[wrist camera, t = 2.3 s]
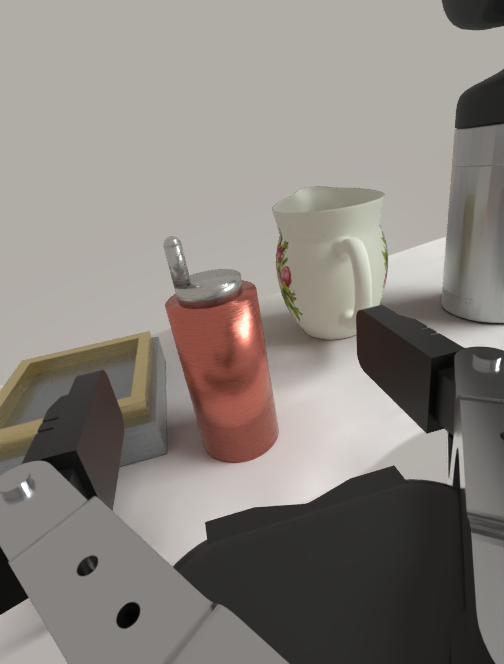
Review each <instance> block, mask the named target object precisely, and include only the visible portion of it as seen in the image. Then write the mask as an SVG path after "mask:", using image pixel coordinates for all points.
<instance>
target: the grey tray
mask: <svg viewBox="0 0 504 664" xmlns="http://www.w3.org/2000/svg"><path fill="white" fill-rule="evenodd" d="M99 370H104V371H105V372H106V373H107V375H108V378H109V380H110V383H111V386H112V388H113V391H114V394H115V396H116V399H117V402H118V404H119V407H120V410H121V413H122V416H123V421H124V438H123V445H122V451H121V458H120V464H119V467H121V466H124V465H128V464H131V463H135V462H139V461H142V460H146V459H150V458H153V457H157V456H160V455H164V454H167V421H166V361H165V358H164V355H163V351H162V348H161V345H160V341H159V338H158V337H154V338H152V337H151V334H150V332H145V333H140V334H136V335H132V336H127V337H123V338H119V339H114V340H110V341H106V342H102V343H97V344H93V345H88V346H84V347H80V348H75V349H71V350H67V351H62V352H58V353H54V354H49V355H45V356H41V357H36V358H32V359H28V360H23V361H22V362H21V363H20V364H19V366H18V367H17V369H16V370H15V371H14V373H13V374H12V376H11V377H10V378H9V380H8V381H7V383H6V384H5V385H4V387H3V388H2V389H1V391H0V476H1V475H2V474H4V473H5V472H7V471H9V470H11V469H13V468H15V467H17V466H19V465H21V464H22V462H23V460H24V457H25V455H26V453H27V451H28V449H29V447H30V445H31V443H32V441H33V439H34V437H35V435H36V434H38V432H37V431H38V429H39V427H40V425H41V423H43V422H42V421H43V419H44V416H45V414H46V412H47V410H48V409H49V408H50V407H51V406H52V405H53V404H54V403H55V402H56V401H57V400H58V399H59V398H60V397H61V396H65V395H68V394H69V391H70V389H71V387H72V384H73V382H74V380H75V378H76V376H78V375H82V374H87V373H91V372H95V371H99Z"/></svg>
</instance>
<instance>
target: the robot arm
mask: <svg viewBox="0 0 504 664" xmlns="http://www.w3.org/2000/svg"><path fill="white" fill-rule="evenodd" d="M442 3H443V8H444V11H445V13H446V15H447V17H448V19H449V20H450V21H451V23H452V24H453V25H455V26H457V27H459V28H461V29H467V30H486V29H491V28H494V27H495V28H496V27H501V26H504V0H442ZM455 128H457V129H455V134H454V146H453V159H452V174H451V186H450V199H449V212H448V224H447V237H446V250H445V263H444V275H443V287H442V300H441V303H442V306H443V307H444V309H445V310H447V311H448V312H450V313H451V314H454V315H456V316H459V317H462V318H465V319H469V320H474V321H480V322H490V323H504V69H503V70H502V71H500V72H499V73H497V74H495V75H493V76H491V77H490V78H488V79H486V80H484V81H482V82H480V83H478V84H476V85H474V86H472V87H471V88H469V89H467V90H466V91H465V92H464V93H463V94H462V95H461V96H460V98H459V100H458V104H457V109H456V120H455ZM356 334H357V356H358V360H359V363H360V366H361V368H362V369H363V371H364V372H365V373H366V374H367V375H368V376H369V377H370V378H371V379H372V380H373V381H374V382H375V383H376V384H377V385H378V386H379V387H380V388H381V389H382V390H383V391H384V392H385V393H386V394H387V395H388V396H389V397H390V398H391V399H392V400H393V401H394V402H395V403H396V404H397V405H398V406H400V407H401V408H402V409H403V410H404V411H405V412H406V413H407V414H408V415H409V416H410V417H411V418H412V419H413V420H414V421H415V422H416V423H417V424H418V425H419V426H420V427H421V428H422V429H423V430H424V431H425V432H426V433H430V432H434V431H437V430H441V429H446V430H447V441H446V455H447V484H444V483H440V482H435V481H428V480H415V479H413V480H412V479H409V480H405V479H404V478H403V476H402V475H401V474H400V472H399V471H398V470H397V469H396V467H395V466H391V467H388V468H384V469H381V470H378V471H374V472H371V473H367V474H364V475H361V476H357V477H354V478H351V479H349V480H347V481H345V482H344V483H342V484H340V485H339V486H337V487H335V488H334V489H332V490H330V491H329V492H327V493H325V494H323V495H322V496H320V497H318V498H317V499H315V500H313V501H311V502H309V503H306V504H297V505H283V506H269V507H254V508H251V509H247V510H244V511H241V512H237V513H234V514H231V515H227V516H224V517H221V518H217V519H214V520H211V521H207V522H205V525H206V533H207V540H205V541H204V542H202V543H200V544H199V545H197V546H196V547H195V548H193V549H192V550H191V551H189V552H188V553H187V554H186V555H185V556H183V557H182V558H181V559H180V560H179V561H178V562H177V563H176V564H175V565H174V566H173V567H172V566H171V565H170V564H169V563H168V562H167V561H166V560H164V559H163V558H162V557H161V556H160V555H159V554H158V553H157V552H156V551H155V550H154V549H153V548H152V547H151V546H149V545H148V544H147V543H146V542H145V541H144V540H143V539H142V538H141V537H140V536H139V535H138V534H137V533H135V532H134V531H133V530H132V529H131V528H130V527H129V526H128V525H127V524H126V523H125V522H124V521H123V520H121V519H120V518H119V517H118V516H117V515H116V514H115V513H114V512H113V504H114V498H115V491H116V484H117V478H118V471H119V464H120V458H121V451H122V445H123V438H124V421H123V416H122V413H121V410H120V407H119V404H118V402H117V399H116V396H115V394H114V391H113V388H112V386H111V383H110V380H109V378H108V375H107V373H106V372H105V371H104V370H99V371H95V372H91V373H87V374H82V375H78V376H76V378H75V380H74V382H73V384H72V387H71V389H70V391H69V394H68V395H65V396H61V397H60V398H59V399H58V400H57V401H56V402H55V403H54V404H53V405H52V406H51V407H50V408H49V409H48V410H47V412H46V414H45V416H44V419H43V421H42V422H43V423H41V425H40V427H39V429H38V431H37V432H38V434H36V435H35V437H34V439H33V441H32V443H31V445H30V447H29V449H28V451H27V453H26V455H25V457H24V460H23V462H22V464H21V465H19V466H17V467H15V468H13V469H11V470H9V471H7V472H5V473H4V474H2V475H1V476H0V615H1V614H3V613H4V612H6V611H8V610H9V609H11V608H13V607H14V606H16V605H18V604H19V603H21V602H23V601H24V600H26V599H28V598H29V599H30V600H31V602H32V604H33V605H34V607H35V609H36V610H37V612H38V614H39V615H40V617H41V619H42V620H43V622H44V624H45V626H46V627H47V629H48V631H49V632H50V634H51V636H52V637H53V639H54V641H55V642H56V644H57V646H58V647H59V649H60V651H61V652H62V654H63V656H64V657H65V659H66V661H67V663H68V664H504V351H503V350H500V349H496V348H490V347H469V348H463V347H462V346H460V345H458V344H457V343H455V342H453V341H451V340H450V339H448V338H446V337H445V336H443V335H441V334H439V333H438V334H437V332H436V331H434V330H433V329H431V328H427V326H426V325H424V324H422V323H421V322H419V321H417V320H415V319H411V318H408V317H404V316H401V315H400V316H399V315H398V314H396V313H395V312H393V311H391V310H390V309H388V308H386V307H385V306H383V305H379V306H374V307H370V308H366V309H362V310H359V311H358V312H357V314H356Z"/></svg>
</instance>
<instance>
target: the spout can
mask: <svg viewBox="0 0 504 664" xmlns="http://www.w3.org/2000/svg"><path fill="white" fill-rule="evenodd" d="M164 250H165V253H166V257H167V261H168V265H169V269H170V273H171V277H172V280H173V284H174V288H175V292H176V294H175V295H173V296H172V297H170V299H168V301H167V302H166V304H165V307H166V311H167V314H168V318H169V322H170V325H171V329H172V332H173V336H174V339H175V343H176V347H177V350H178V354H179V357H180V361H181V364H182V368H183V372H184V375H185V379H186V382H187V386H188V389H189V393H190V397H191V400H192V404H193V407H194V411H195V414H196V418H197V422H198V425H199V429H200V432H201V436H202V439H203V443H204V447H205V449H206V451H207V452H208V453H209V454H210V455H211V456H212V457H213V458H215V459H217V460H220V461H223V462H230V463H238V462H245V461H249V460H252V459H255V458H257V457H259V456H261V455H262V454H264V453H265V452H267V451H268V450H269V449H270V448H271V447H272V446H273V445H274V443H275V441H276V439H277V437H278V431H279V430H278V423H277V417H276V411H275V404H274V398H273V392H272V385H271V379H270V373H269V366H268V360H267V354H266V347H265V341H264V335H263V328H262V322H261V316H260V310H259V303H258V297H257V291H256V287H255V285H254V284H252V283H250V282H247V281H243V280H241V275H240V273H239V272H238V271H235V270H230V269H218V270H210V271H204V272H200V273H196V274H193V275H190V276H189V273H188V269H187V265H186V261H185V257H184V253H183V248H182V244H181V242H180V240H179V239H178V238H176V237H174V236H171V237H168V238H167V239H166V240H165V241H164Z"/></svg>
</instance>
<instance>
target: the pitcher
mask: <svg viewBox="0 0 504 664" xmlns="http://www.w3.org/2000/svg"><path fill="white" fill-rule="evenodd" d="M383 202H384V193H382V192H380V191H376V190H370V189H360V188H333V187H322V186H315V187H308V188H303V189H300V190H298V191H296V192H295V193H294V194H293V195H292V196H290V197H288V198H286V199H284V200H282V201H280V202H278V203H277V204H276V205H274V207H273V208H272V210H273V214H274V217H275V220H276V223H277V227H278V230H279V234H280V237H279V241H278V247H277V254H276V269H277V276H278V281H279V285H280V289H281V293H282V296H283V298H284V301H285V303H286V305H287V308H288V310H289V311H290V313H291V315H292V317H293V318H294V320H295V321H296V322H297V324H298V325H299V326H300V327H301V328H303V329H304V330H305V332H306V333H307V334H309V335H310V336H313V337H316V338H320V339H329V340H333V339H343V338H348V337H351V336H354V335H356V314H357V312H358V311H359V310H362V309H366V308H370V307H374V306H379V304H380V301H381V299H382V296H383V292H384V288H385V284H386V278H387V270H388V253H387V246H386V241H385V238H384V234H383V232H382V229H381V226H380V217H381V211H382V206H383Z"/></svg>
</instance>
